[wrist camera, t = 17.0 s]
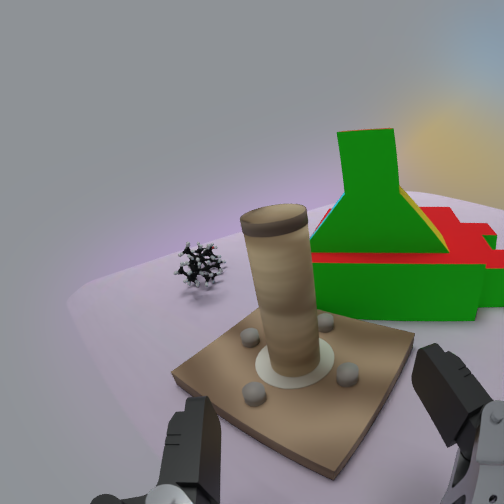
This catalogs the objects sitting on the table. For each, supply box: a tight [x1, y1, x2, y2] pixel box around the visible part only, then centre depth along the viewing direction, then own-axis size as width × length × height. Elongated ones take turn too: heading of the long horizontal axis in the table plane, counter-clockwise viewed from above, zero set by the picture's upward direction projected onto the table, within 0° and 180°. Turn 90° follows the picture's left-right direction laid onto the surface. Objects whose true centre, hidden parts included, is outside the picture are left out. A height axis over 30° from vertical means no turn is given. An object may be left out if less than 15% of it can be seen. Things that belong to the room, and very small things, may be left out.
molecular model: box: [174, 242, 226, 287], centre depth 42 cm, size 15×6×6 cm, turn 179°
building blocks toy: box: [309, 128, 504, 321], centre depth 29 cm, size 19×25×18 cm
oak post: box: [240, 204, 320, 377], centre depth 20 cm, size 4×4×12 cm
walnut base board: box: [171, 308, 415, 480], centre depth 22 cm, size 14×16×3 cm
